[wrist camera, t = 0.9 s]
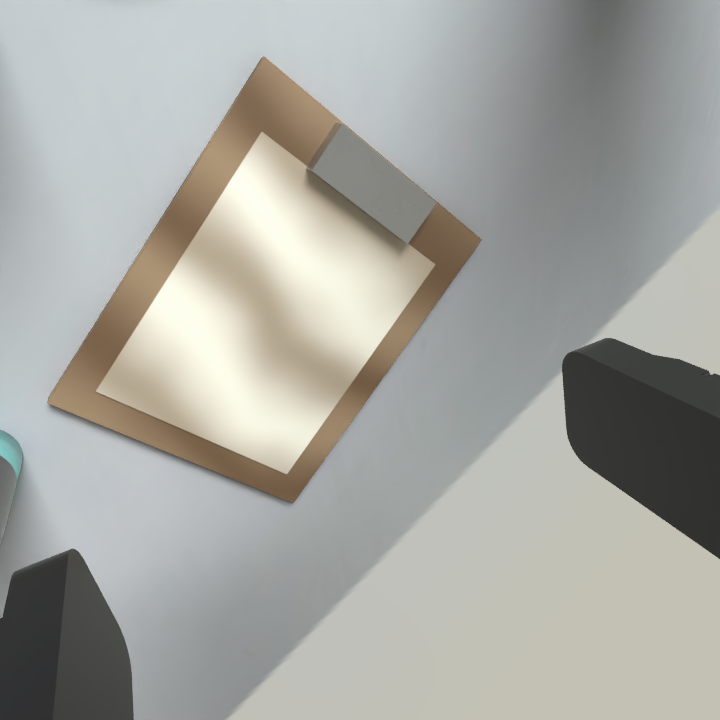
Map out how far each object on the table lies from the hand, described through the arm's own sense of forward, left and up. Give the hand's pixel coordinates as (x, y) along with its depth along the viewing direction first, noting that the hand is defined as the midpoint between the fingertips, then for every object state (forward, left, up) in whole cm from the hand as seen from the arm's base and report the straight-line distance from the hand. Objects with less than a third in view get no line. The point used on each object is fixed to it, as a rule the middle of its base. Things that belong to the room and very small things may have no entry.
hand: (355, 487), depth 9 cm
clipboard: (+1, +5, -21) cm, 22 cm away
